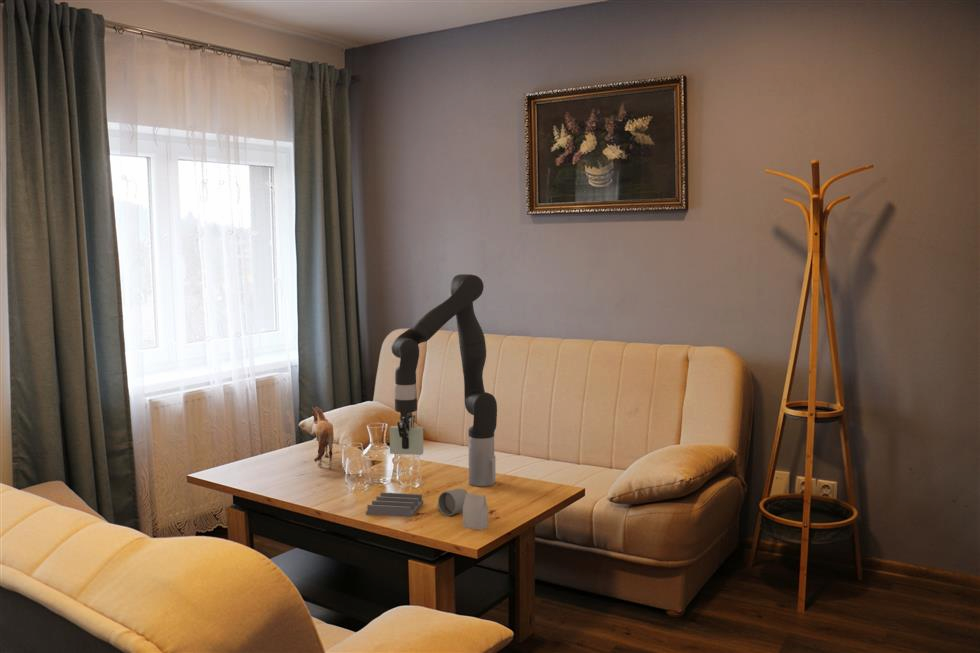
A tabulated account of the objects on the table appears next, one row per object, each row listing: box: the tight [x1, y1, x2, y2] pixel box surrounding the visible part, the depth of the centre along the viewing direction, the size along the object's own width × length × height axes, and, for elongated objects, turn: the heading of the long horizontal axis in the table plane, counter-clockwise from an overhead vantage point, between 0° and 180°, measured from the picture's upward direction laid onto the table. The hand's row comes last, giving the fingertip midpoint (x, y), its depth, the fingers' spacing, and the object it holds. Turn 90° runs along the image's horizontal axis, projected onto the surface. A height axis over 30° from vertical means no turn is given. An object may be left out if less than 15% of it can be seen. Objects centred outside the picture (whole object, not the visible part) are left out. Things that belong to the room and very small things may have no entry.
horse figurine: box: [311, 406, 335, 469], centre depth 325 cm, size 31×8×21 cm, turn 13°
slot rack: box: [365, 491, 424, 518], centre depth 267 cm, size 15×14×3 cm
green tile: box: [389, 425, 424, 456], centre depth 280 cm, size 11×2×9 cm, turn 80°
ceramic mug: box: [436, 488, 468, 517], centre depth 264 cm, size 11×8×8 cm
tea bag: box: [462, 492, 489, 531], centre depth 249 cm, size 4×7×10 cm, turn 58°
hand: (406, 447), depth 280 cm, fingers closed on green tile, 2 cm apart
